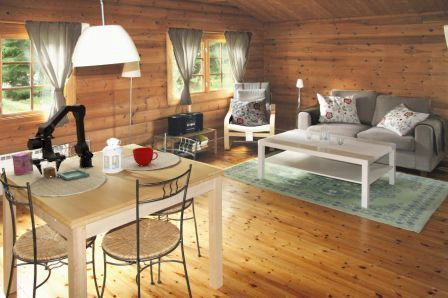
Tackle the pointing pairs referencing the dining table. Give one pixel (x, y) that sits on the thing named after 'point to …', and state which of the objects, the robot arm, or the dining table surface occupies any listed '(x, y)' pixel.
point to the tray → (73, 174)
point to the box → (22, 163)
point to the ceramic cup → (143, 155)
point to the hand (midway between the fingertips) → (49, 173)
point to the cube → (49, 171)
